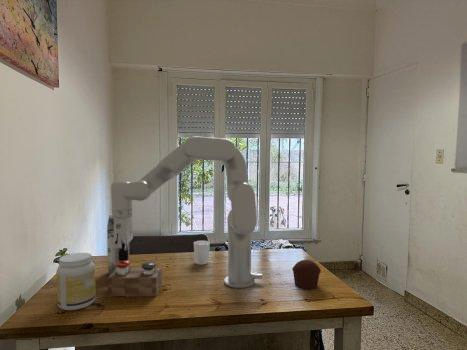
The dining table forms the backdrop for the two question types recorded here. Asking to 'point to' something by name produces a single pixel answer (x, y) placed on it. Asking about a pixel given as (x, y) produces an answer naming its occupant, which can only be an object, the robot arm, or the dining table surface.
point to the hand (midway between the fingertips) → (123, 259)
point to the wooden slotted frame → (134, 283)
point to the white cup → (201, 252)
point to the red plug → (122, 267)
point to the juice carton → (112, 247)
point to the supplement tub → (75, 281)
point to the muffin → (306, 274)
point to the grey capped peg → (148, 267)
